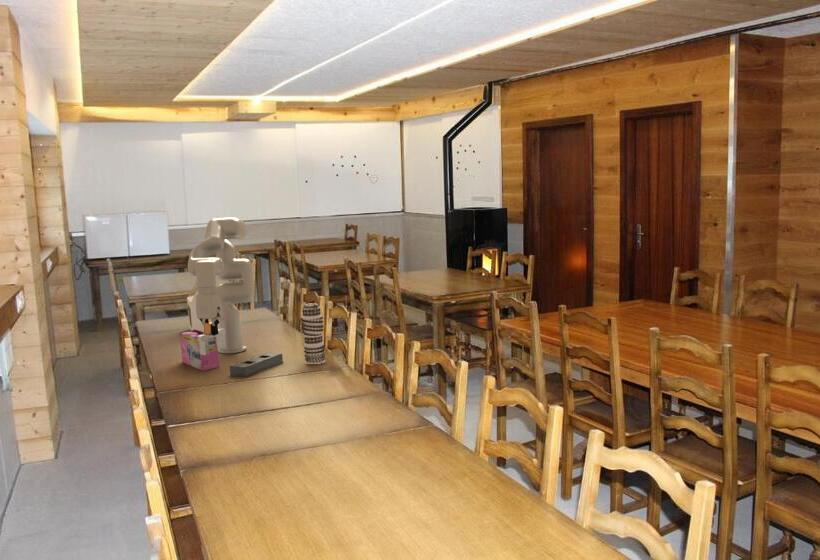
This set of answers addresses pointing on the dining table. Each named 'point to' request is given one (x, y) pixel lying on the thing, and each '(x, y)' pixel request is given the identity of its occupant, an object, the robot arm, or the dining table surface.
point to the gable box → (194, 311)
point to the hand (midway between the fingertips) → (211, 334)
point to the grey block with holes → (256, 364)
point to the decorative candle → (313, 333)
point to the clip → (219, 337)
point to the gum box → (198, 351)
